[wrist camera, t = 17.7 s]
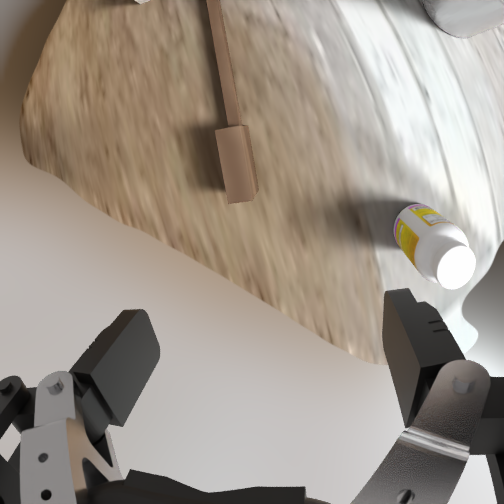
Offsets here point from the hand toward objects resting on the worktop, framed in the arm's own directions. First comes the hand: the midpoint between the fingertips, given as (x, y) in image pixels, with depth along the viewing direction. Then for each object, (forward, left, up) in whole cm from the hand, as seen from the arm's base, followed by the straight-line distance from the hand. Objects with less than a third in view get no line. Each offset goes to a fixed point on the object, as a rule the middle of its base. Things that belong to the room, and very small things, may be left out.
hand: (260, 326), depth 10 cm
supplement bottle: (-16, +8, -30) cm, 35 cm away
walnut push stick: (+5, -13, -30) cm, 33 cm away
